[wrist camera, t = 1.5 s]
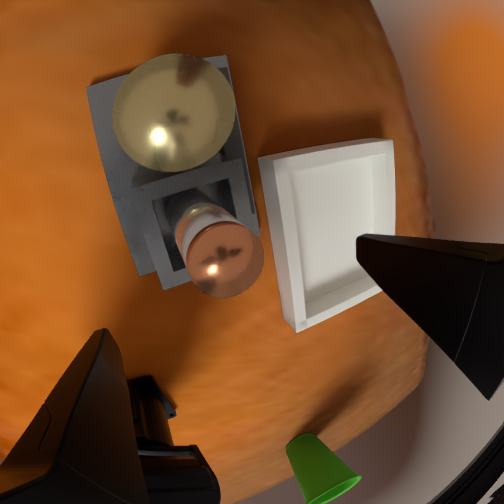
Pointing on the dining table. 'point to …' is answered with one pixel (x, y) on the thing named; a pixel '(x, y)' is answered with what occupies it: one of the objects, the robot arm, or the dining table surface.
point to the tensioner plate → (160, 188)
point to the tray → (326, 222)
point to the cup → (319, 470)
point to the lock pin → (214, 245)
